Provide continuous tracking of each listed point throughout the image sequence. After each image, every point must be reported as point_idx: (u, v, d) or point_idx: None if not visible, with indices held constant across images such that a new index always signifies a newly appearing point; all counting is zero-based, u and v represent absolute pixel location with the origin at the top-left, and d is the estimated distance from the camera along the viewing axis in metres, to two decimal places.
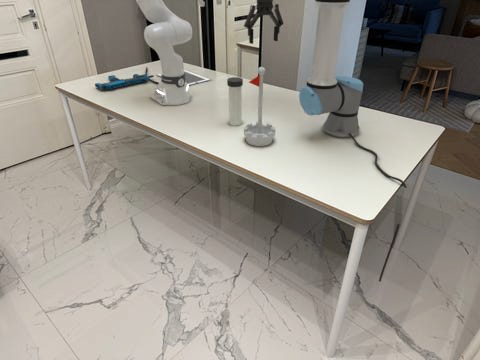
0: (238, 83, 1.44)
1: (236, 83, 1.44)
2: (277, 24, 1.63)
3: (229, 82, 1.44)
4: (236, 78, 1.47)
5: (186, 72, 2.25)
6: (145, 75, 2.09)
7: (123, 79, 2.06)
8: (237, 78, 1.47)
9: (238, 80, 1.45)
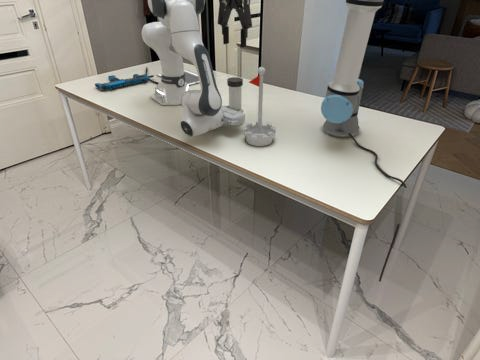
0: (238, 83, 1.44)
1: (236, 83, 1.44)
2: (241, 25, 1.31)
3: (229, 82, 1.44)
4: (236, 78, 1.47)
5: (186, 72, 2.25)
6: (145, 75, 2.09)
7: (123, 79, 2.06)
8: (237, 78, 1.47)
9: (238, 80, 1.45)
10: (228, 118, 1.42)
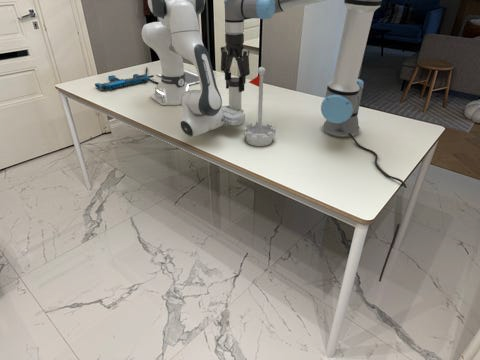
0: (238, 83, 1.44)
1: (236, 83, 1.44)
2: (240, 73, 1.41)
3: (229, 82, 1.44)
4: (236, 78, 1.47)
5: (186, 72, 2.25)
6: (145, 75, 2.09)
7: (123, 79, 2.06)
8: (237, 78, 1.47)
9: (238, 80, 1.45)
10: (228, 118, 1.42)
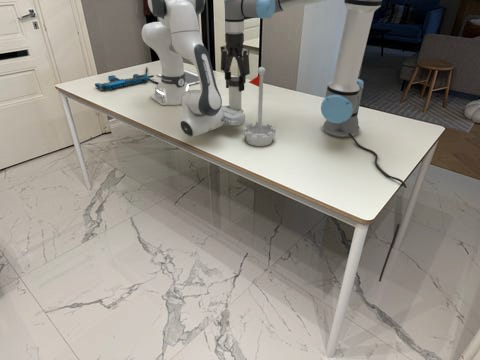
0: None
1: None
2: (240, 72, 1.41)
3: (238, 82, 1.44)
4: (232, 78, 1.47)
5: (186, 72, 2.25)
6: (145, 75, 2.09)
7: (123, 79, 2.06)
8: (232, 77, 1.47)
9: None
10: (228, 118, 1.42)
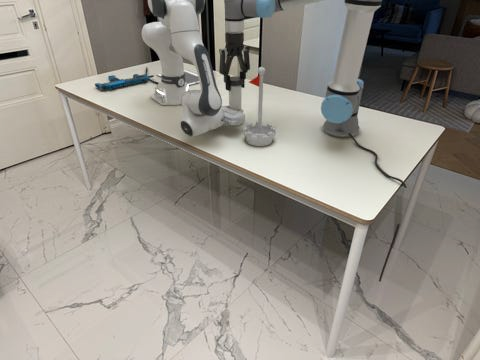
0: None
1: None
2: (243, 69, 1.45)
3: (242, 79, 1.46)
4: (231, 79, 1.45)
5: (186, 72, 2.25)
6: (145, 75, 2.09)
7: (123, 79, 2.06)
8: (231, 78, 1.45)
9: (234, 77, 1.47)
10: (228, 118, 1.42)
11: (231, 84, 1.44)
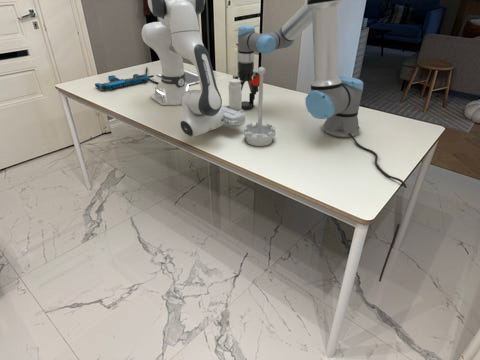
0: None
1: None
2: (253, 91, 1.70)
3: None
4: (242, 104, 1.71)
5: (186, 72, 2.25)
6: (145, 75, 2.09)
7: (123, 79, 2.06)
8: (241, 103, 1.72)
9: (244, 102, 1.74)
10: (228, 118, 1.42)
11: (242, 108, 1.70)
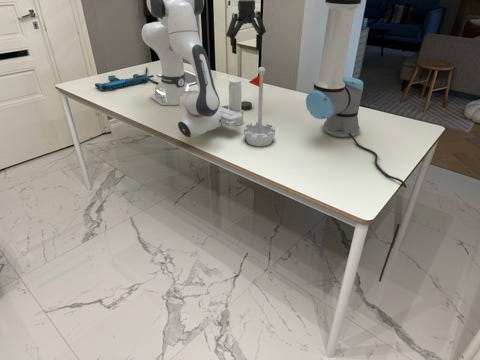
0: None
1: None
2: (260, 32, 1.56)
3: None
4: (242, 104, 1.71)
5: (186, 72, 2.25)
6: (145, 75, 2.09)
7: (123, 79, 2.06)
8: (241, 103, 1.72)
9: (244, 102, 1.74)
10: (226, 119, 1.41)
11: (242, 108, 1.70)
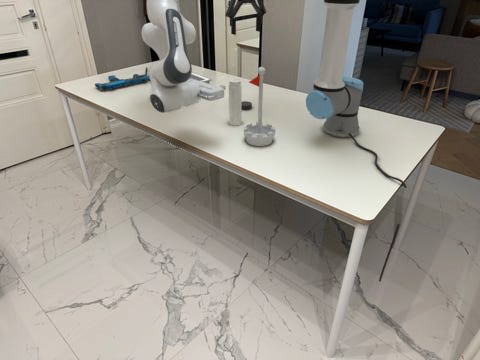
0: None
1: None
2: (260, 13, 1.52)
3: None
4: (242, 104, 1.71)
5: None
6: (145, 75, 2.09)
7: (123, 79, 2.06)
8: (241, 103, 1.72)
9: (244, 102, 1.74)
10: (205, 93, 1.27)
11: (242, 108, 1.70)
